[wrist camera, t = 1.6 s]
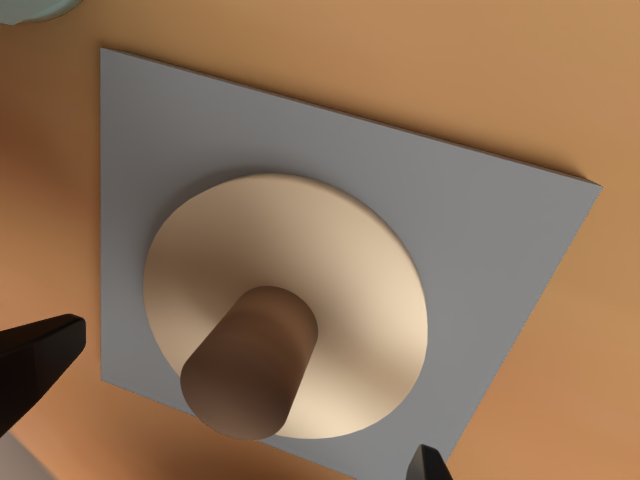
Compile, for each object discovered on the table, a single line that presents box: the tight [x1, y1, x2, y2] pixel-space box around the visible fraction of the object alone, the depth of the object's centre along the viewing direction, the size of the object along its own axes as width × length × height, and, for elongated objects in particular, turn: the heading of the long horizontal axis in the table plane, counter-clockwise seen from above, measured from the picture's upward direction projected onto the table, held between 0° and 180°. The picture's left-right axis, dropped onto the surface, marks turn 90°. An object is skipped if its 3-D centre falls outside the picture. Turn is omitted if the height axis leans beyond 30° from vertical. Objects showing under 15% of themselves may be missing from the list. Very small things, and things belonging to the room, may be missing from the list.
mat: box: [100, 48, 603, 480], centre depth 13 cm, size 13×14×1 cm
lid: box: [143, 173, 428, 441], centre depth 11 cm, size 9×9×4 cm
